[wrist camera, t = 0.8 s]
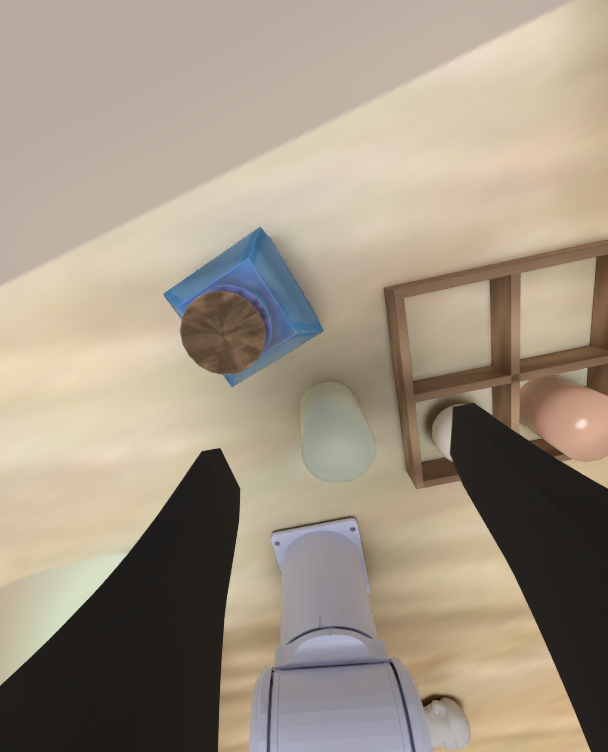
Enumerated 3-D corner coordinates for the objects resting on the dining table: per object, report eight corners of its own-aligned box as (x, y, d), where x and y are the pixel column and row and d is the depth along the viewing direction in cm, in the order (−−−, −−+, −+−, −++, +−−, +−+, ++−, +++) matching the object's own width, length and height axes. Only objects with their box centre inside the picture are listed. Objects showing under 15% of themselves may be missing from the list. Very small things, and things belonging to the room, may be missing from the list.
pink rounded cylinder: (570, 421, 28) (627, 454, 23) (513, 433, 28) (558, 467, 23) (573, 368, 26) (636, 391, 21) (513, 380, 26) (561, 406, 21)
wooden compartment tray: (589, 435, 28) (616, 450, 26) (406, 471, 29) (416, 489, 26) (607, 239, 23) (641, 237, 21) (383, 287, 23) (393, 290, 21)
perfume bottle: (269, 237, 22) (243, 207, 11) (316, 314, 24) (336, 359, 13) (195, 286, 23) (101, 307, 12) (246, 358, 25) (207, 436, 14)
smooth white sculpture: (456, 680, 40) (460, 720, 40) (391, 688, 40) (396, 729, 40) (475, 717, 36) (480, 763, 36) (403, 727, 36) (408, 772, 36)
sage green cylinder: (360, 427, 27) (380, 474, 21) (306, 438, 27) (309, 488, 21) (351, 375, 26) (370, 410, 19) (294, 387, 26) (294, 425, 20)
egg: (479, 439, 28) (513, 471, 23) (425, 449, 28) (449, 483, 24) (477, 389, 26) (514, 414, 22) (420, 400, 26) (445, 427, 22)
